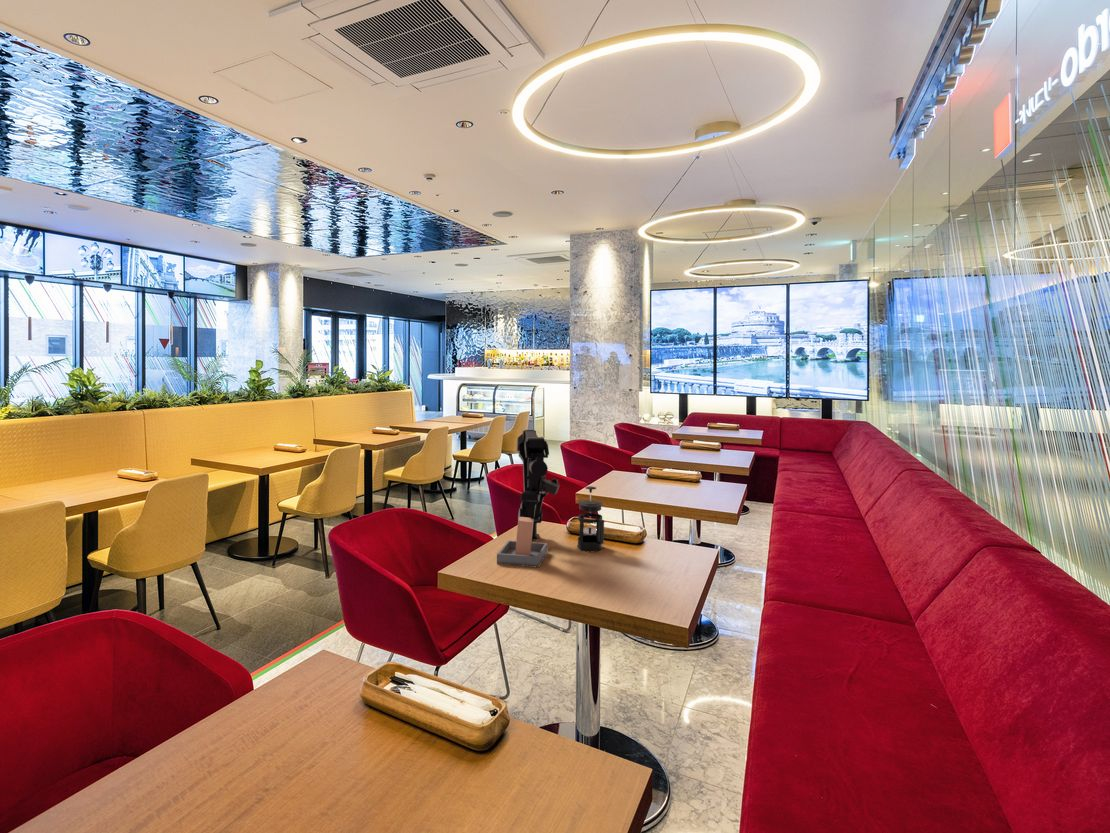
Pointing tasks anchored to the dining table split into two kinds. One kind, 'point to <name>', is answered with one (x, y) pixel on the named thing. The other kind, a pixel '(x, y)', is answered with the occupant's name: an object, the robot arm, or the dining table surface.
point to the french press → (587, 535)
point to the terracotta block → (524, 536)
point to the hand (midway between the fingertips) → (535, 515)
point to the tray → (534, 559)
